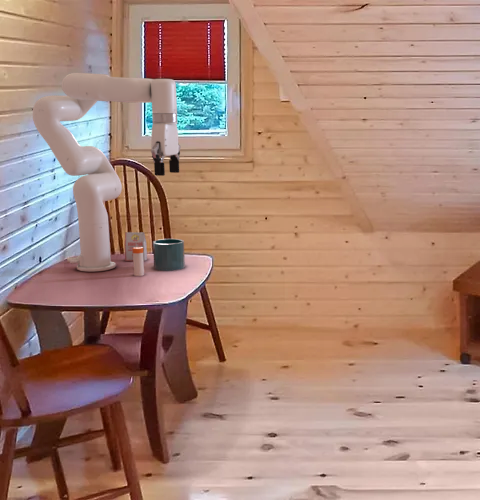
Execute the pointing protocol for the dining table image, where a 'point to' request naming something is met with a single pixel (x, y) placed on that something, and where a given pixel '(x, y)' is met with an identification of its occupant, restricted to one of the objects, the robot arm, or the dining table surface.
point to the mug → (168, 254)
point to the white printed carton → (134, 244)
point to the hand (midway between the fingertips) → (167, 173)
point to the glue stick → (138, 261)
